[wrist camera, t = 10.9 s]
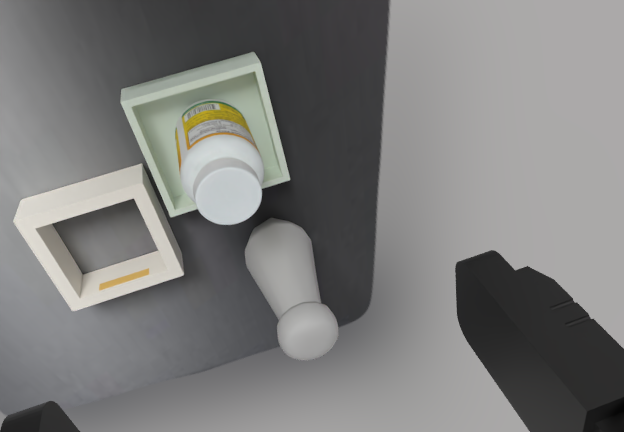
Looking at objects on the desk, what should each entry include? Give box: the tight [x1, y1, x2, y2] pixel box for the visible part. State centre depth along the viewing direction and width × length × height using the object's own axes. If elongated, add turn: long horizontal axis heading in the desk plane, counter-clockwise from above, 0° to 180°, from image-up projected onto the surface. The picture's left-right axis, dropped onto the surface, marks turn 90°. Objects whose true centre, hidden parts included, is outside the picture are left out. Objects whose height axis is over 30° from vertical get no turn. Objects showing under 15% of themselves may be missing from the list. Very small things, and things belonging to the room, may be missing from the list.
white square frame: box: [13, 163, 184, 311], centre depth 40 cm, size 9×9×3 cm
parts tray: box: [121, 52, 290, 217], centre depth 38 cm, size 10×10×2 cm
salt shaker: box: [245, 218, 339, 361], centre depth 41 cm, size 6×6×13 cm
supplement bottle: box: [175, 99, 264, 225], centre depth 35 cm, size 5×5×10 cm
